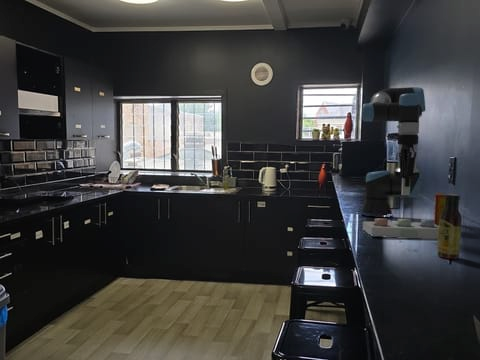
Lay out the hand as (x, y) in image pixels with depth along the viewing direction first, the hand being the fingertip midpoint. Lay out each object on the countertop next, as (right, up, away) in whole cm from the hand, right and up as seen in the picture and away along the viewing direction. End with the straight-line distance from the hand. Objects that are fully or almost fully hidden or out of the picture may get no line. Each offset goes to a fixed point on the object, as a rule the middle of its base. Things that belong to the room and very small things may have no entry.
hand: (405, 195), depth 171 cm
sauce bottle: (+1, -19, -34) cm, 39 cm away
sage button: (0, -13, +1) cm, 13 cm away
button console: (0, -16, +3) cm, 16 cm away
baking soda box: (+20, -16, +13) cm, 29 cm away
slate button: (+9, -13, +1) cm, 16 cm away
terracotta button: (-9, -13, +2) cm, 15 cm away
